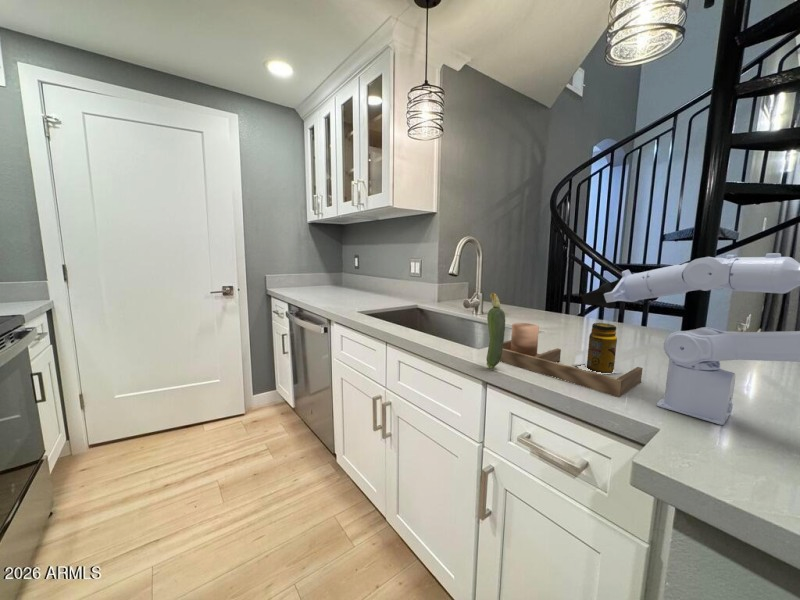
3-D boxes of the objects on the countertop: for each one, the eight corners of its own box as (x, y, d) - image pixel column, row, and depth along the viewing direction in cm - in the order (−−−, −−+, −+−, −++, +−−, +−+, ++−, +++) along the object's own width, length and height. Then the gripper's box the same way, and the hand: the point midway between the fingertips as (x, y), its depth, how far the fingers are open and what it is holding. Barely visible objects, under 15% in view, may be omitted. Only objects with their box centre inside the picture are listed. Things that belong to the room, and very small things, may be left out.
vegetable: (500, 367, 86) (504, 291, 83) (504, 372, 82) (508, 293, 79) (483, 366, 86) (487, 291, 84) (486, 372, 82) (490, 293, 79)
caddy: (640, 382, 76) (645, 341, 75) (618, 397, 68) (623, 351, 67) (515, 349, 102) (517, 318, 101) (488, 357, 94) (489, 324, 92)
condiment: (622, 374, 82) (627, 327, 80) (591, 375, 80) (595, 328, 79) (600, 364, 89) (604, 321, 87) (572, 365, 88) (575, 322, 86)
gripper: (666, 257, 70) (605, 271, 83) (628, 274, 64) (569, 287, 77) (677, 287, 70) (615, 297, 83) (641, 308, 64) (579, 315, 76)
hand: (593, 294), depth 80 cm, fingers open, 7 cm apart
